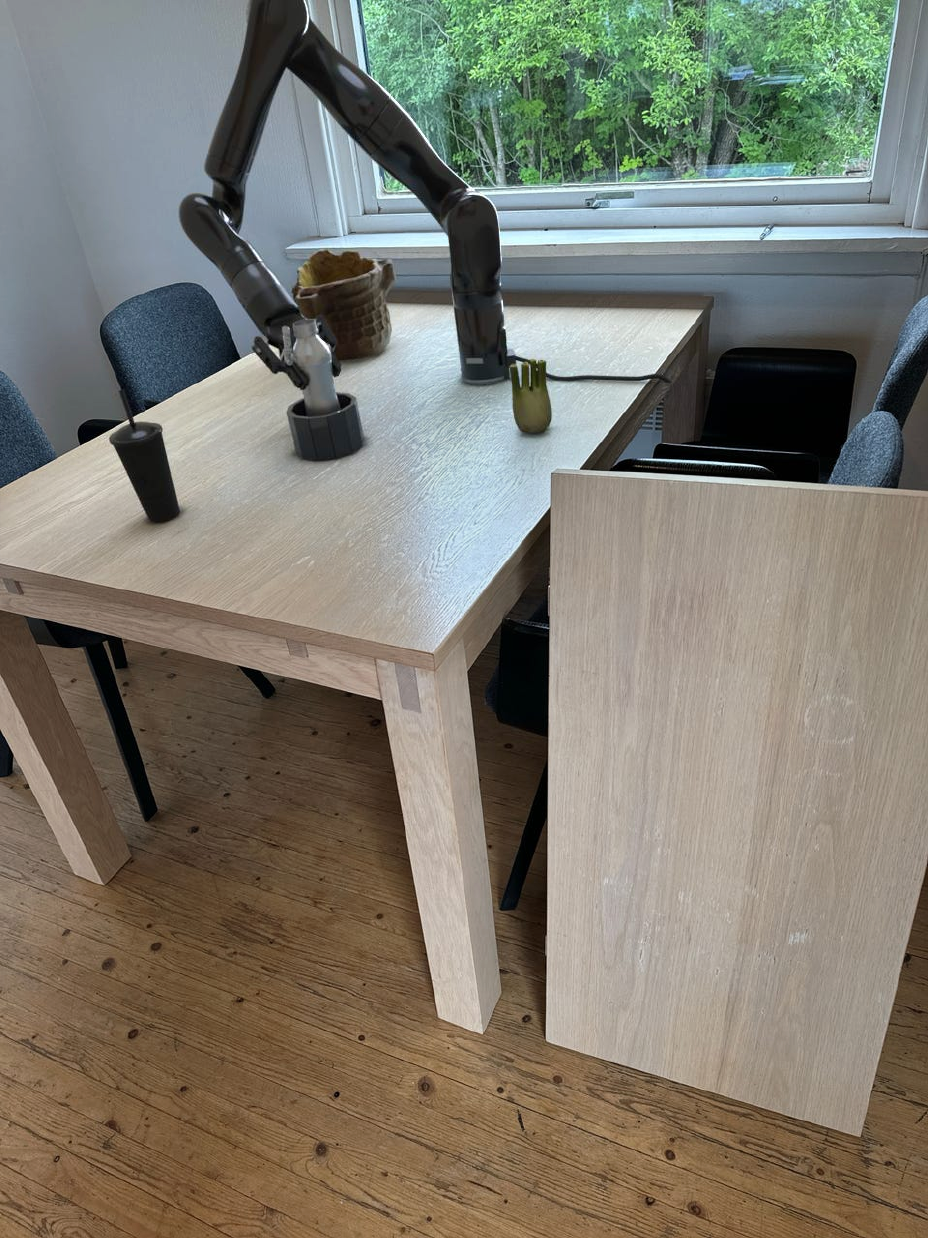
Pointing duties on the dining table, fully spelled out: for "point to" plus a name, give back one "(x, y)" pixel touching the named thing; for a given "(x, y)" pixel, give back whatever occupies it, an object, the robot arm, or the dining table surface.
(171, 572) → the dining table surface
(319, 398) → the silver water bottle
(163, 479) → the drinking cup
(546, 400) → the fennel bulb
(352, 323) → the ceramic vessel
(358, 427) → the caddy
